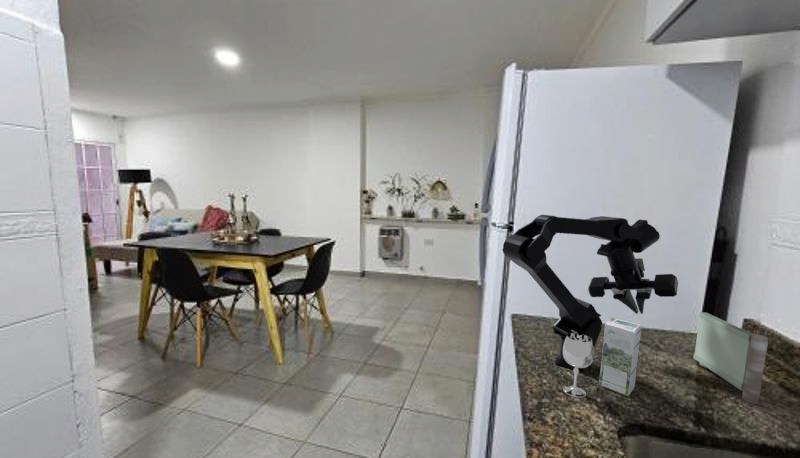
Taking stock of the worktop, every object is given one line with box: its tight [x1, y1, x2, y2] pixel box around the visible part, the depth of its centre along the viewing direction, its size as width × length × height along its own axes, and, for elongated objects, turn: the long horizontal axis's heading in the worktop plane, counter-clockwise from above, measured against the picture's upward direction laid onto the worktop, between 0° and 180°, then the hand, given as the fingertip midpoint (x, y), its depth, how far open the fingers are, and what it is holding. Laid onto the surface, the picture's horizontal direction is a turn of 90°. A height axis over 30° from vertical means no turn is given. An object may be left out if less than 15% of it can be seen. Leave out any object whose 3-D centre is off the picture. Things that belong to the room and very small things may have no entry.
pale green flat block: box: [692, 311, 753, 391], centre depth 80 cm, size 14×2×12 cm, turn 174°
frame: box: [699, 333, 769, 405], centre depth 79 cm, size 17×4×14 cm, turn 173°
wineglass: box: [562, 332, 595, 399], centre depth 73 cm, size 6×6×12 cm
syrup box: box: [598, 317, 642, 397], centre depth 75 cm, size 6×6×14 cm
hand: (639, 312), depth 91 cm, fingers closed
